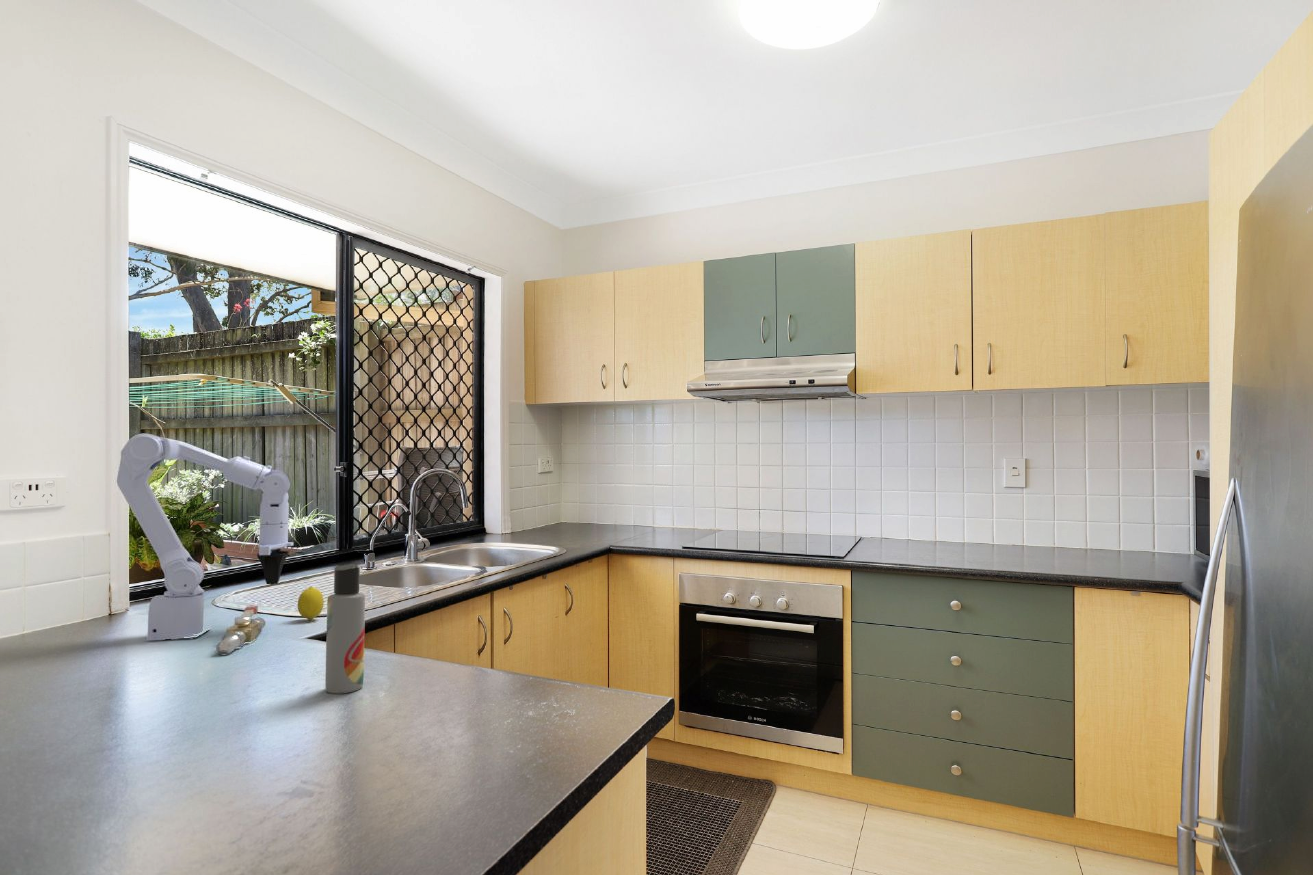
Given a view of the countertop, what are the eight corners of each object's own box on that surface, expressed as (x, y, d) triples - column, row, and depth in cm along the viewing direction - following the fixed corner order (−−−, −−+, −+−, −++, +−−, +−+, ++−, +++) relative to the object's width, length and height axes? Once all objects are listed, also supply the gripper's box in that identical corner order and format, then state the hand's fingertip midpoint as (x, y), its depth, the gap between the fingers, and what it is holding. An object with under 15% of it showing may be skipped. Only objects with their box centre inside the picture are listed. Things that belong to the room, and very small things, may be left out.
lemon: (312, 623, 162) (313, 588, 163) (291, 622, 164) (292, 588, 164) (328, 618, 168) (329, 585, 168) (308, 617, 169) (308, 584, 169)
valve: (236, 657, 135) (237, 635, 135) (211, 659, 134) (211, 636, 134) (268, 632, 156) (269, 612, 156) (247, 633, 155) (247, 613, 155)
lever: (250, 624, 144) (250, 618, 144) (233, 625, 143) (233, 619, 143) (259, 611, 157) (259, 605, 158) (244, 612, 156) (244, 606, 156)
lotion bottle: (371, 686, 115) (373, 563, 116) (342, 696, 110) (345, 568, 111) (346, 681, 118) (348, 562, 119) (317, 691, 113) (320, 566, 114)
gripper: (285, 525, 153) (283, 588, 152) (301, 521, 167) (299, 578, 166) (249, 526, 151) (247, 589, 151) (268, 521, 165) (266, 579, 165)
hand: (272, 583), depth 158 cm, fingers closed
